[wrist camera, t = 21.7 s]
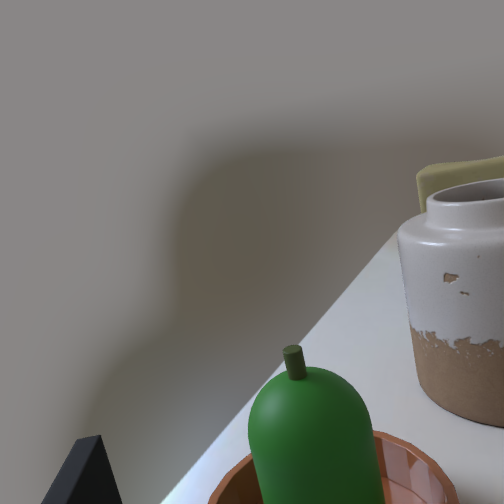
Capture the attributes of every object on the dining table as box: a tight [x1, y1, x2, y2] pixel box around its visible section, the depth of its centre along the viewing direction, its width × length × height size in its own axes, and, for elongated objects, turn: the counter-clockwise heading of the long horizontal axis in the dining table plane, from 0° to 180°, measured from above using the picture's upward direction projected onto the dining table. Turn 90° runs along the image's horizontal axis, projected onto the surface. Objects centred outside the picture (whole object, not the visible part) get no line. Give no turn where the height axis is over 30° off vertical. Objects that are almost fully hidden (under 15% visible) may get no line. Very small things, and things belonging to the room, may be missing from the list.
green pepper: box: [248, 345, 386, 504], centre depth 25 cm, size 7×7×13 cm
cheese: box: [416, 156, 504, 214], centre depth 71 cm, size 22×10×15 cm, turn 57°
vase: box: [397, 178, 504, 427], centre depth 39 cm, size 15×15×17 cm
